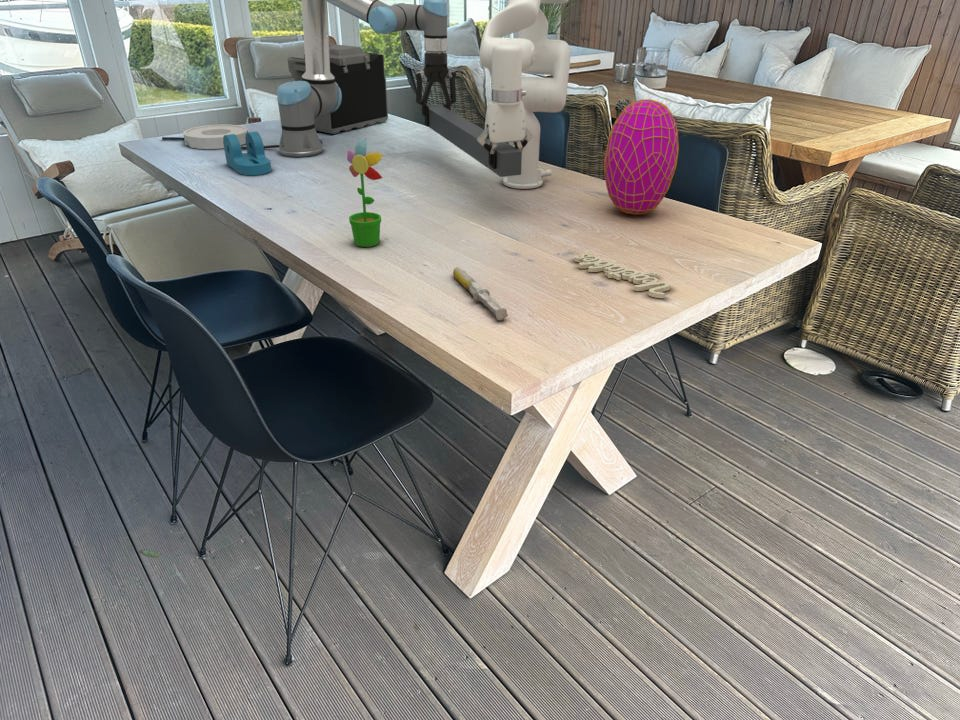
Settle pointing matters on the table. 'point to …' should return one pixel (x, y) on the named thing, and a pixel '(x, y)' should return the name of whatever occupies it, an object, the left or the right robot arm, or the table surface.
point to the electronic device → (351, 88)
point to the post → (473, 141)
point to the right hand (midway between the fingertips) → (504, 165)
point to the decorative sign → (625, 274)
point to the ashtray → (213, 135)
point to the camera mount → (246, 154)
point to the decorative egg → (641, 156)
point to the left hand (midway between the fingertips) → (436, 124)
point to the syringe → (479, 293)
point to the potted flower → (364, 222)
